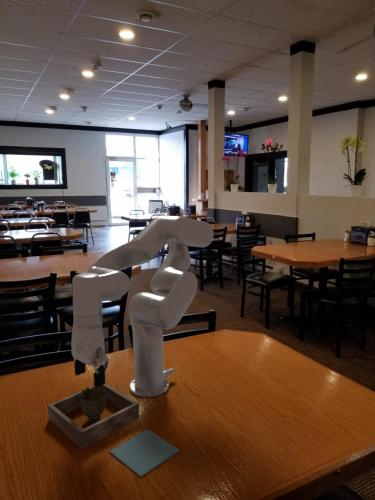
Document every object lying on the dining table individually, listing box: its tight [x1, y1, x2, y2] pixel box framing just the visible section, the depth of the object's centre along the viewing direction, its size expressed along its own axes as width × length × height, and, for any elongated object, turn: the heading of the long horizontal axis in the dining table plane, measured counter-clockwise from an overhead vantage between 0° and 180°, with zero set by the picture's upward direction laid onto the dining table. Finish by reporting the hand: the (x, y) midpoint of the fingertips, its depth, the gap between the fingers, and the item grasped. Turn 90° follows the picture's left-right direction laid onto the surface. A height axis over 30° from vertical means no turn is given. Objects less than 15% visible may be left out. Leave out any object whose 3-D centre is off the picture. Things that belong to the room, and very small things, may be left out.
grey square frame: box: [47, 383, 140, 450], centre depth 107 cm, size 18×18×4 cm
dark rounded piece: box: [79, 386, 107, 423], centre depth 107 cm, size 8×7×8 cm
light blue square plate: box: [109, 428, 180, 478], centre depth 94 cm, size 12×12×1 cm
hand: (89, 379), depth 105 cm, fingers open, 9 cm apart
